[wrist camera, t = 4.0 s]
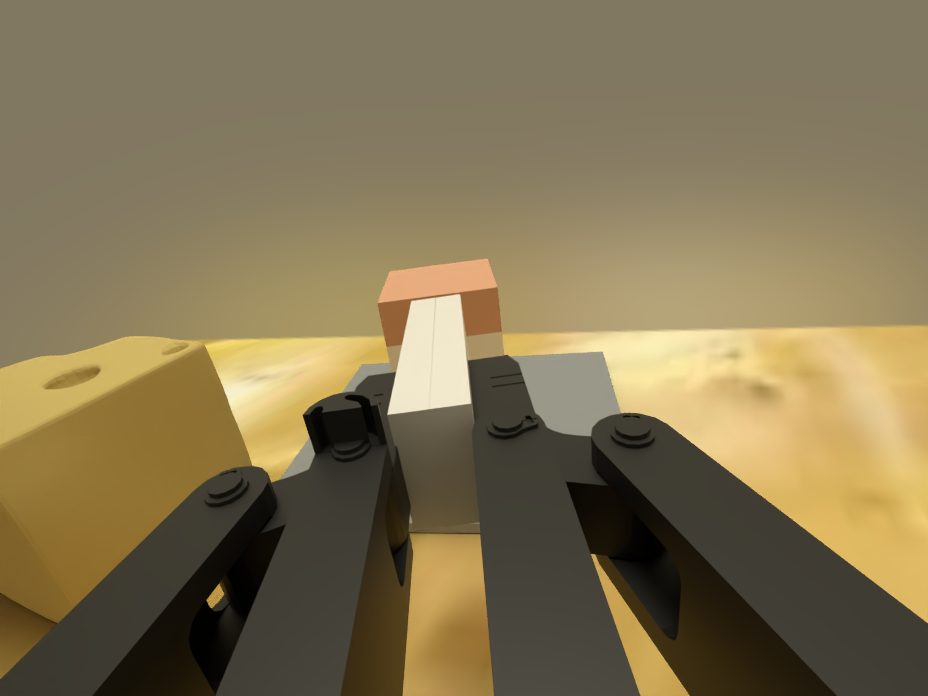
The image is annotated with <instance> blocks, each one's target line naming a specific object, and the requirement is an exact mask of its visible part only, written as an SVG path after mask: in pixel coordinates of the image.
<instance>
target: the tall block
mask: <svg viewBox="0 0 928 696" xmlns="http://www.w3.org/2000/svg"><path fill="white" fill-rule="evenodd" d="M458 294H460V296H461V303H462V310H463V317H464V324H465V331H466V338H467V345H468V352H469V359H470V360H474V359H482V358H489V357H496V356H503V355H504V349H503V339H502V329H501V319H500V309H499V299H498V290H497V285H496V282H495V279H494V277H493V273H492V271H491V268H490V265H489V262H488V259H480V260H473V261H465V262H458V263H451V264H443V265H435V266H428V267H421V268H413V269H405V270H398V271H391V272H390V273H389V275H388V278H387V280H386V283H385V285H384V288H383V290H382V293H381V295H380V298H379V301H378V308H379V312H380V318H381V322H382V327H383V332H384V337H385V341H386V346H387V351H388V356H389V360H390V365H391V370H392V372H396V371H397V367H398V362H399V357H400V352H401V348H402V343H403V338H404V334H405V329H406V324H407V319H408V315H409V310H410V305H411V301H416V300H423V299H430V298H437V297H444V296H451V295H458Z"/></svg>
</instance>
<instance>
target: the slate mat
mask: <svg viewBox="0 0 928 696" xmlns="http://www.w3.org/2000/svg"><path fill="white" fill-rule="evenodd" d="M511 358H512V359H514V360H515V361H517V362H518V363H519V366H520V369H521V372H522V375H523V378H524V381H525V384H526V387H527V390H528V393H529V396H530V399H531V402H532V405H533V408H534V411H535V413H536V414H538V415H539V416H540V417H541V418H542V420H543V421H544V422H545V425H546V427H547V428H549V429H551V430H553V431H556V432H560V433H563V434H570V435H580V436H591V432H592V427H593V426H594V425H595V424H596V423H597V422H598V421H599V420H601V419H603V418H605V417H608V416H610V415H615V414H621V413H620V409H619V406H618V403H617V399H616V396H615V392H614V389H613V385H612V382H611V379H610V375H609V372H608V368H607V365H606V362H605V358H604V355H603V352H588V353H569V354H550V355H532V356H513V357H511ZM391 372H392V370H391V365H390V363H381V364H362V365H361V367H360V368H359V370H358V371H357V372H356V374H355V375H354V377H353V378H352V379H351V381H350V382H349V384H348V385H347V386H346V388H345V389H344V391H343V392H342V393H344V392H352V391H355V389H356V387H357V386H358V385H359V384H360V383H361V382H362V381H363V380H364V379H365V378H366V377H367V376H370V375H377V374H384V373H391ZM314 455H315V452H314V449H313V446H312V443H311V440H310V438H309V439H308V441H307V442H306V443H305V445H304V446H303V448H302V449H301V450H300V452H299V453H298V455H297V456H296V457H295V459H294V460H293V462H292V463H291V464H290V466H289V467H288V469H287V470H286V471H285V473H284V474H283V476H282V477H281V478H280V480H281V479H284V478H287V477H290V476H293V475H296V474H298V473H301V472H303V471H306V470H308V469H309V467H310V465H311V463H312V460H313V458H314ZM408 531H409V532H424V533H480V524H479V522H478V523H471V524H463V525H455V526H448V527H440V528H433V529H425V530H417V531H414V527H413V523H412V519H411V515H410V520H409V530H408Z"/></svg>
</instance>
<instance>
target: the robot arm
mask: <svg viewBox="0 0 928 696" xmlns="http://www.w3.org/2000/svg"><path fill="white" fill-rule="evenodd" d="M303 418H304V421H305V424H306V427H307V430H308V433H309V437H310V440H311V443H312V446H313V449H314V452H315V455H314V458H313V460H312V463H311V465H310V467H309V469H308V470H306V471H303V472H301V473H298V474H296V475H293V476H290V477H287V478H284V479H281V480H278V481H275V482H272V483H271V481H270V478H269V475H268V473H267V472H266V471H265V470H263V469H262V468H260V467H255V466H245V467H236V468H232V469H230V470H226V471H223V472H220V473H219V474H218V475H216V476H214V477H212V478H210V479H208V480H207V481H205V482H204V483H203V484H201V485H200V486H199V487H198V488H196V489H195V490H194V491H193V492H192V493H191V494H190V495H189V496H188V497H187V498H186V499H185V500H184V501H183V502H182V503H181V504H180V505H179V506H178V507H177V508H175V509H174V510H173V511H172V512H171V513H170V514H169V515H168V516H167V517H166V518H165V519H164V520H163V521H162V522H161V523H160V524H159V525H158V526H157V527H156V528H155V529H154V530H153V531H152V532H151V533H150V534H149V535H148V536H147V537H146V538H145V539H144V540H143V541H142V542H141V543H140V544H139V545H138V546H137V547H136V548H135V549H133V550H132V551H131V552H130V553H129V554H128V555H127V556H126V557H125V558H124V559H123V560H122V561H121V562H120V563H119V564H118V565H117V566H116V567H115V568H114V569H113V570H112V571H111V572H110V573H109V574H108V575H107V576H106V577H105V578H104V579H103V580H102V581H101V582H100V583H99V584H98V585H97V586H96V587H95V588H94V589H93V590H92V591H90V592H89V593H88V594H87V595H86V596H85V597H84V598H83V599H82V600H81V601H80V602H79V603H78V604H77V605H76V606H75V607H74V608H73V609H72V610H71V611H70V612H69V613H68V614H67V615H66V616H65V617H64V618H63V619H62V620H61V621H60V622H59V623H58V624H57V625H56V626H55V627H54V628H53V629H52V630H51V631H50V632H49V633H47V634H46V635H45V636H44V637H43V638H42V639H41V640H40V641H39V642H38V643H37V644H36V645H35V646H34V647H33V648H32V649H31V650H30V651H29V652H28V653H27V654H26V655H25V656H24V657H23V658H22V659H21V660H20V661H19V662H18V663H17V664H16V665H15V666H14V667H13V668H12V669H11V670H10V671H9V672H8V673H7V674H6V675H4V676H3V677H2V678H1V679H0V696H402V694H403V680H404V667H405V654H406V640H407V627H408V613H409V600H410V587H411V573H412V560H413V549H412V543H411V539H410V535H409V531H408V530H409V520H410V515H411V519H412V523H413V527H414V531H417V530H425V529H433V528H440V527H448V526H455V525H463V524H471V523H478V522H479V524H480V536H481V547H482V559H483V570H484V582H485V594H486V605H487V617H488V628H489V640H490V652H491V663H492V675H493V686H494V696H640V694H639V691H638V688H637V685H636V682H635V679H634V676H633V674H632V671H631V668H630V665H629V662H628V659H627V656H626V653H625V651H624V648H623V645H622V642H621V639H620V636H619V633H618V631H617V628H616V625H615V622H614V619H613V616H612V613H611V611H610V608H609V605H608V602H607V599H606V596H605V593H604V591H603V588H602V585H601V582H600V579H599V576H598V573H597V571H596V568H595V565H594V562H593V559H592V556H591V554H595V555H596V557H597V559H598V562H599V564H600V566H601V567H602V568H603V570H604V571H605V573H606V574H607V576H608V577H609V579H610V580H611V582H612V583H613V584H614V586H615V587H616V589H617V590H618V592H619V593H620V595H621V596H622V598H623V599H624V600H625V602H626V603H627V605H628V606H629V608H630V609H631V611H632V612H633V614H634V615H635V616H636V618H637V619H638V621H639V622H640V624H641V625H642V627H643V628H644V630H645V631H646V632H647V634H648V635H649V637H650V638H651V640H652V641H653V643H654V644H655V646H656V647H657V648H658V650H659V651H660V653H661V654H662V656H663V657H664V659H665V660H666V662H667V663H668V664H669V666H670V667H671V669H672V670H673V672H674V673H675V675H676V676H677V678H678V679H679V680H680V682H681V683H682V685H683V686H684V688H685V689H686V691H687V692H688V694H689V695H690V696H928V623H926V622H925V621H924V620H923V619H921V618H920V617H919V616H917V615H916V614H915V613H913V612H912V611H911V610H910V609H908V608H907V607H906V606H904V605H903V604H902V603H900V602H899V601H898V600H896V599H895V598H894V597H892V596H891V595H890V594H889V593H887V592H886V591H885V590H883V589H882V588H881V587H879V586H878V585H877V584H875V583H874V582H873V581H872V580H870V579H869V578H868V577H866V576H865V575H864V574H862V573H861V572H860V571H859V570H857V569H856V568H855V567H853V566H852V565H851V564H849V563H848V562H847V561H845V560H844V559H843V558H842V557H840V556H839V555H838V554H836V553H835V552H834V551H832V550H831V549H830V548H828V547H827V546H826V545H824V544H823V543H822V542H821V541H819V540H818V539H817V538H815V537H814V536H813V535H811V534H810V533H809V532H808V531H806V530H805V529H804V528H802V527H801V526H800V525H798V524H797V523H796V522H794V521H793V520H792V519H791V518H789V517H788V516H787V515H785V514H784V513H783V512H781V511H780V510H779V509H777V508H776V507H775V506H774V505H772V504H771V503H770V502H768V501H767V500H766V499H764V498H763V497H762V496H760V495H759V494H758V493H757V492H755V491H754V490H753V489H751V488H750V487H749V486H747V485H746V484H745V483H743V482H742V481H741V480H740V479H738V478H737V477H736V476H734V475H733V474H732V473H730V472H729V471H728V470H726V469H725V468H724V467H723V466H721V465H720V464H719V463H717V462H716V461H715V460H713V459H712V458H711V457H709V456H708V455H707V454H706V453H704V452H703V451H702V450H700V449H699V448H698V447H696V446H695V445H694V444H692V443H691V442H690V441H689V440H687V439H686V438H685V437H683V436H682V435H681V434H679V433H678V432H677V431H675V430H674V429H673V428H672V427H670V426H669V425H668V424H666V423H664V422H662V421H660V420H659V419H657V418H655V417H651V416H647V415H643V414H638V413H622V414H615V415H610V416H608V417H605V418H603V419H601V420H599V421H598V422H597V423H596V424H595V425H594V426H593V427H592V432H591V436H580V435H570V434H563V433H560V432H556V431H553V430H551V429H549V428H547V427H546V425H545V422H544V421H543V420H542V418H541V417H540V416H539V415H538V414H536V413H535V411H534V408H533V405H532V402H531V399H530V396H529V393H528V390H527V387H526V384H525V381H524V378H523V375H522V372H521V369H520V366H519V363H518V362H517V361H515V360H514V359H512V358H511V357H510V356H508V355H503V356H496V357H489V358H482V359H474V360H470V359H469V352H468V345H467V338H466V331H465V324H464V317H463V310H462V303H461V296H460V294H458V295H451V296H444V297H437V298H430V299H423V300H416V301H411V305H410V310H409V315H408V319H407V324H406V329H405V334H404V338H403V343H402V348H401V352H400V357H399V362H398V367H397V371H396V372H391V373H384V374H377V375H370V376H367V377H366V378H365V379H364V380H363V381H362V382H361V383H360V384H359V385H358V386H357V387H356V389H355V391H352V392H344V393H339V394H335V395H332V396H329V397H327V398H325V399H322V400H320V401H318V402H317V403H315V404H314V405H312V406H311V407H309V408H308V410H307V411H306V412H305V413H304V414H303ZM218 584H220V586H221V588H222V590H223V592H224V596H223V597H222V598H221V600H220V601H219V602H218V603H217V604H216V605H215V606H214V607H213V608H212V609H211V608H210V607H209V605H208V603H207V601H206V600H207V598H208V597H209V596H210V595H211V593H212V592H213V591H214V589H215V588H216V587H217V585H218Z"/></svg>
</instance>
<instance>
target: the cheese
mask: <svg viewBox="0 0 928 696" xmlns="http://www.w3.org/2000/svg"><path fill="white" fill-rule="evenodd" d="M245 466H252V464H251V460H250V457H249V454H248V451H247V449H246V446H245V443H244V440H243V438H242V435H241V433H240V431H239V428H238V425H237V423H236V421H235V418H234V416H233V414H232V411H231V408H230V405H229V402H228V399H227V396H226V394H225V392H224V389H223V386H222V384H221V381H220V379H219V377H218V374H217V372H216V370H215V367H214V365H213V362H212V360H211V358H210V356H209V354H208V351H207V349H206V347H205V345H203V344H202V343H196V342H190V341H183V340H173V339H168V338H161V337H145V336H131V337H124V338H121V339H118V340H115V341H112V342H109V343H106V344H103V345H100V346H97V347H94V348H91V349H87V350H84V351H80V352H77V353H72V354H68V355H62V356H44V357H36V358H33V359H30V360H26V361H22V362H19V363H17V364H14V365H11V366H8V367H4V368H1V369H0V593H2V594H3V595H5V596H7V597H8V598H10V599H11V600H13V601H15V602H16V603H18V604H20V605H22V606H24V607H25V608H27V609H29V610H31V611H33V612H35V613H37V614H39V615H41V616H43V617H45V618H47V619H49V620H51V621H54V622H56V623H59V622H60V621H61V620H62V619H63V618H64V617H65V616H66V615H67V614H68V613H69V612H70V611H71V610H72V609H73V608H74V607H75V606H76V605H77V604H78V603H79V602H80V601H81V600H82V599H83V598H84V597H85V596H86V595H87V594H88V593H89V592H90V591H92V590H93V589H94V588H95V587H96V586H97V585H98V584H99V583H100V582H101V581H102V580H103V579H104V578H105V577H106V576H107V575H108V574H109V573H110V572H111V571H112V570H113V569H114V568H115V567H116V566H117V565H118V564H119V563H120V562H121V561H122V560H123V559H124V558H125V557H126V556H127V555H128V554H129V553H130V552H131V551H132V550H133V549H135V548H136V547H137V546H138V545H139V544H140V543H141V542H142V541H143V540H144V539H145V538H146V537H147V536H148V535H149V534H150V533H151V532H152V531H153V530H154V529H155V528H156V527H157V526H158V525H159V524H160V523H161V522H162V521H163V520H164V519H165V518H166V517H167V516H168V515H169V514H170V513H171V512H172V511H173V510H174V509H175V508H177V507H178V506H179V505H180V504H181V503H182V502H183V501H184V500H185V499H186V498H187V497H188V496H189V495H190V494H191V493H192V492H193V491H194V490H195V489H196V488H198V487H199V486H200V485H201V484H203V483H204V482H205V481H207V480H208V479H210V478H212V477H214V476H216V475H218V474H219V473H220V472H223V471H226V470H230V469H232V468H236V467H245Z"/></svg>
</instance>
